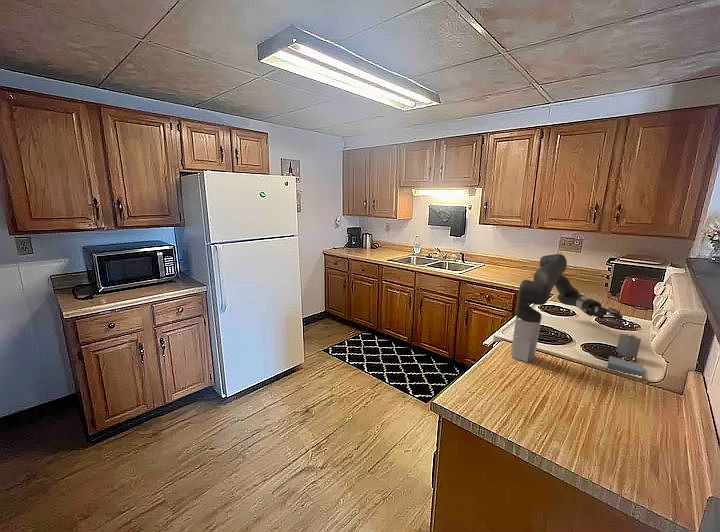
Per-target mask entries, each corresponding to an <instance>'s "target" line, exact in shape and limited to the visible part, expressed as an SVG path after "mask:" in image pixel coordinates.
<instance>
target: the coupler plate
mask: <svg viewBox="0 0 720 532" xmlns="http://www.w3.org/2000/svg"><path fill="white" fill-rule="evenodd" d="M608 360H609V361H608V362H607V366H606V367H607V368H609V369H612V370H617V371H620V372H623V373H628V374H633V375H638V376H642V377H643V378H644V377H645V371H644V364H640V363H638V362H635V361H626V360H623V359H621V358H620V357H615V356H611V355H609V356H608ZM607 368H606V369H607Z"/></svg>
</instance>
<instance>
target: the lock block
mask: <svg viewBox="0 0 720 532" xmlns="http://www.w3.org/2000/svg"><path fill="white" fill-rule="evenodd" d="M641 340H642V338H640V337H637V336H635V334H631V333H619V337H618V341H617V346H616V350H615V351H616V352H617V353H619V354H621V355H623V356H625V357H634V358H637V357H638V354H639V349H640V345H641ZM616 352H615V353H616Z"/></svg>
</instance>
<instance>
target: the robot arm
mask: <svg viewBox="0 0 720 532" xmlns="http://www.w3.org/2000/svg"><path fill="white" fill-rule="evenodd" d="M567 264H568V261H567V259H566V256H565V255H564V254H561V253H554V254H549V255H548V254H547V255H543V256H541V258H540V260H539V265H540V267H539V268H538V269H537V270H536V272H535V273H534V275H533V280H529V279H524V280H522V281H521V283H520V285H519V288H518V289H519V290H518V297H517V298H518V299H517V308H516V315H515V323H514V328H513V329H514V330H513V337H512V340H511V341H512V342H511V348H510V349H511V351H510V355H511V358H513V359H516V360H519V361H522V362H525V363H528V362H533V361H534V360H535V359H536V353H537V346H538V341H539V340H538V339H539V335H540V334H539V333H540V328H541V322H542V314H541V312H539V311H538V310H537V309H535V308H533V307H532V306H531V305H530V304H532V305H538V306H544V305H546V303H547V302H548V301H549V298H550V296H551V293H552V290H553V288H554V287H555V288H556V290H557V291H558V293H559V294H558V295H557V299H558V301H559V302H560V303H561V304H563V305H566V306H569V307H570V306H571V307H576V309H579V310H580V311H582V313H584V314H586V315H587V316H589V317H592V316H593V317H595V318H598V319H600V320H604V319H605V317H613V318H615V319H617V320H619V321H620V320H621V321H622V320H623V317H624V316H623V315H622V314H621V311H620V310H617V309H615V308H612V307H604V306H602V304H601V302H599V301H597V300H595V299H593V298H591V297H588V296H586V295H583V294H580V292H579V289H577V288H575V287H574V286H572V284H571V282H570V280H569V278H568V277H566V276H565V275H563V273H564V272H565V271H566V269H567Z"/></svg>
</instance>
